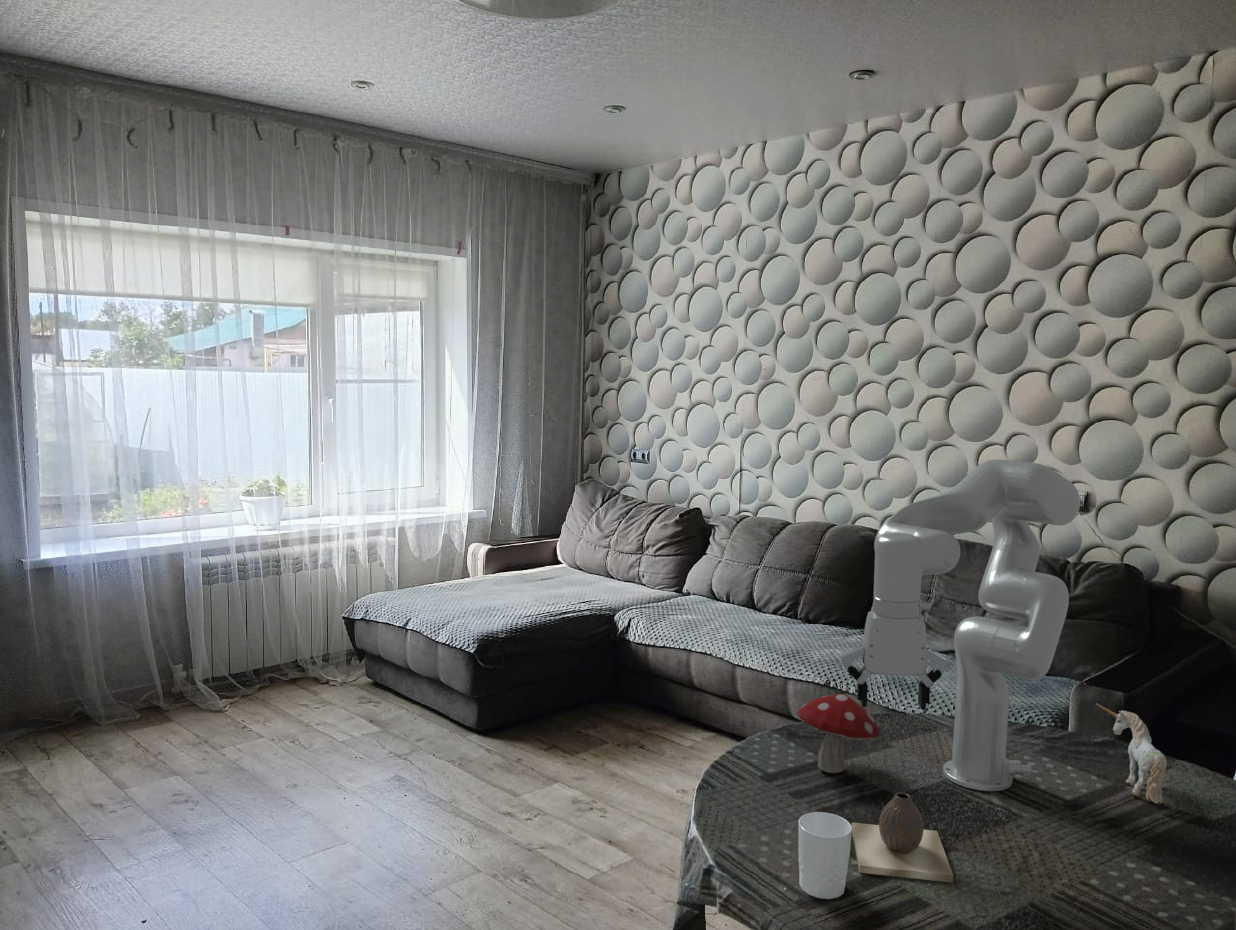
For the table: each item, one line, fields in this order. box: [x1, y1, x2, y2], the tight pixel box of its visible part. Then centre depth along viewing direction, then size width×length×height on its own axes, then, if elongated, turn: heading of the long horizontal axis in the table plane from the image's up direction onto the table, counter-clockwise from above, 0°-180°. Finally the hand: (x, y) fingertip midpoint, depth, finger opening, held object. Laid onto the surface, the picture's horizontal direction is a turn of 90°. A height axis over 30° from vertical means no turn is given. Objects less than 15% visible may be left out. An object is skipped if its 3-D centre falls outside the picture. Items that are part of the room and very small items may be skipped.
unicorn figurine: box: [1095, 703, 1168, 804], centre depth 176 cm, size 7×20×13 cm, turn 4°
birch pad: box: [851, 822, 954, 883], centre depth 151 cm, size 14×14×1 cm
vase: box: [878, 792, 925, 853], centre depth 150 cm, size 7×7×9 cm
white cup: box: [797, 811, 853, 900], centre depth 140 cm, size 8×8×10 cm
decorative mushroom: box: [796, 693, 881, 774], centre depth 182 cm, size 16×16×15 cm
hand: (892, 705), depth 157 cm, fingers open, 9 cm apart
